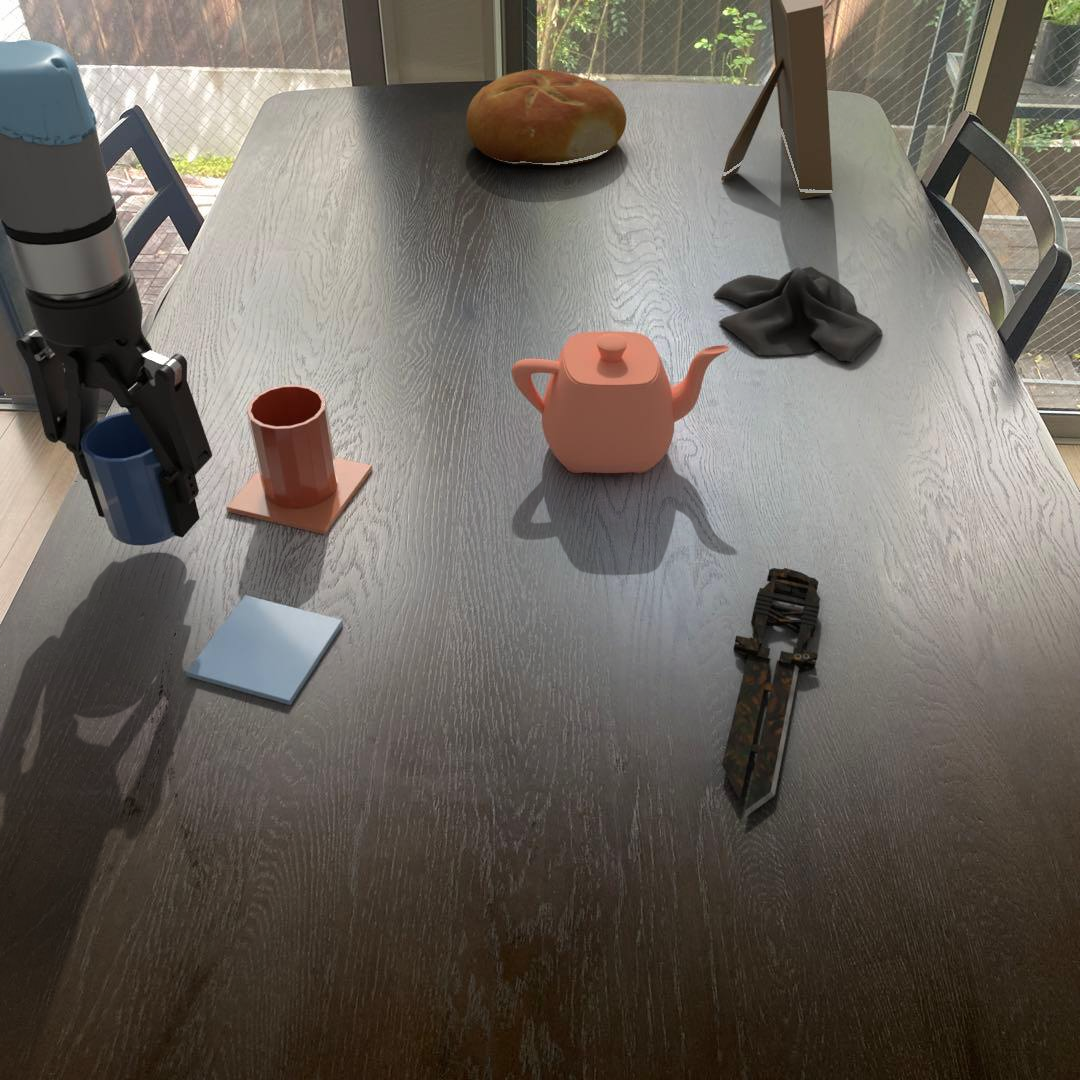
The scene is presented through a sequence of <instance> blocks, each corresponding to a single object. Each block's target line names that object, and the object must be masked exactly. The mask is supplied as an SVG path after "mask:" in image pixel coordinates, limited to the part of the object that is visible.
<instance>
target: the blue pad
mask: <svg viewBox="0 0 1080 1080" xmlns="http://www.w3.org/2000/svg"><path fill="white" fill-rule="evenodd" d="M343 625H344V622H343V619H341V618H337V617H333V616H328V615H325V614H321V613H317V612H313V611H309V610H306V609H301V608H297V607H294V606H289V605H285V604H282V603H278V602H274V601H270V600H266V599H262V598H258V597H255V596H250V595H246V594H245V595H244V596H243V597H242V599H241V600H240V601H239V602H238V604H237V605H236V606H235V608H234V609H233V610H232V612H231V613H230V614H229V615H228V616H227V618H226V620H225V621H224V622H223V623H222V625H221V626H220V627H219V628H218V629H217V631H216V632H215V634H214V635H213V636H212V638H211V639H210V641H209V642H208V643H207V644H206V645H205V647H204V648H203V649H202V651H201V652H200V653H199V655H198V656H197V657H196V659H195V660H194V661H193V663H192V664H191V665H190V666H189V668H188V669H187V670H186V675H187V677H188V678H192V679H195V680H199V681H202V682H205V683H209V684H214V685H217V686H220V687H223V688H227V689H231V690H235V691H238V692H241V693H245V694H249V695H252V696H255V697H259V698H262V699H267V700H270V701H273V702H277V703H281V704H285V705H287V706H291V705H292V704H293V702H294V701H295V699H296V697H297V696H298V694H299V693H300V691H301V690H302V689H303V687H304V686H305V684H306V682H307V681H308V679H309V678H310V676H311V675H312V673H313V672H314V670H315V668H316V667H317V666H318V664H319V662H320V661H321V659H323V655H325V653H326V652H327V650H328V648H329V647H330V646H331V644H332V642H333V641H334V640H335V638H336V636H337V635H338V633H339V632H340V630H341V628H342V627H343Z"/></svg>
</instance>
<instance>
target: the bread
mask: <svg viewBox="0 0 1080 1080" xmlns="http://www.w3.org/2000/svg"><path fill="white" fill-rule="evenodd" d="M465 119H466V120H465V122H466V129H467V134H468V137H469V139H470V141H471V143H472V144H473V145H474V147H475V148H476V149H477V150H478V151H479V150H480V151H481V152H480V151H479V152H480V153H481V154H483V153H484V154H483V155H484V156H486V157H488V158H490V159H492V160H494V161H497V162H500V163H503V164H507V165H516V166H526V165H527V166H528V165H532V166H543V167H544V166H545V167H562V166H563V167H564V166H572V165H577V164H583V163H586V162H591V161H593V160H596V159H597V158H600V157H601V156H603V155H601V156H598V157H596V158H592V159H588V160H583V161H578V162H573V163H568V164H560V165H543V164H532V163H556V162H564V161H569V160H574V159H579V158H584V157H587V156H590V155H594V154H597V153H600V152H603V151H606V150H609V149H611V148H612V147H613V146H614V147H615V146H616V145H617V144H618V142H619V141H620V140H621V138H622V136H623V135H624V133H625V130H626V128H627V127H626V126H627V113H626V109H625V107H624V105H623V103H622V102H621V100H620V99H619V97H618V96H617V95H616V94H615V92H613V91H612V90H611V89H610V88H608V86H605V85H604V84H601V83H598V82H596V81H594V80H592V79H587V78H584V77H581V76H578V75H575V74H571V73H566V72H563V71H557V70H550V69H526V70H520V71H515V72H512V73H508V74H505V75H503V76H500V77H498V78H496V79H495V80H493V81H492V82H490V83H488V84H487V85H485V86H482V88H481V89H480V90H479V91H478V92H477V93H476V94H475V95H474V96H473V98H472V99H471V101H470V104H469V105H468V109H467V111H466V118H465ZM614 147H613V148H614ZM613 148H612V149H613ZM612 149H611V150H612ZM609 151H610V150H609ZM485 154H486V155H485ZM487 155H488V156H487ZM489 156H490V157H489ZM491 157H493V158H496V159H499V160H503V161H508V162H520V161H526V162H532V163H518V164H512V163H507V162H502V161H499V160H496V159H493V158H491Z"/></svg>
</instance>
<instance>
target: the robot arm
mask: <svg viewBox="0 0 1080 1080" xmlns="http://www.w3.org/2000/svg"><path fill="white" fill-rule="evenodd" d="M97 124H98V123H97V118H96V114H95V111H94V109H93V107H92V106H91V105H90V102H89V99H88V96H87V93H86V90H85V86H84V83H83V80H82V77H81V73H80V69H79V67H78V64H77V63H76V61H75V60H74V58H73V57H72V56H71V54H70V53H69V52H68V51H67V50H65V49H63V48H61V46H58V45H55V44H52V43H49V42H46V41H41V40H33V39H20V40H16V41H6V40H5V41H0V222H1V223H2V227H3V229H4V232H5V235H6V239H7V241H8V245H9V248H10V251H11V254H12V257H13V261H14V264H15V267H16V270H17V273H18V277H19V279H20V283H21V284H23V286H25V291H24V292H25V296H26V299H27V303H28V305H29V308H30V311H31V315H32V317H33V320H34V323H35V326H34V327H33V328H32V329H31V330H29V331H27V332H26V333H25V334H24V335H23V336H21V337H20V338H19V339H17V340H16V341H15V344H16V345H15V346H16V347H17V349H18V351H19V353H20V355H21V356H22V358H23V360H24V361H25V363H26V366H27V368H28V373H29V377H30V381H31V384H32V388H33V392H34V396H35V400H36V404H37V408H38V412H39V417H40V420H41V424H42V428H43V429H42V430H43V433H44V436H45V438H46V439H47V440H48V441H49V442H51V443H54V444H56V443H58V442H61V443H63V444H65V447H66V449H67V450H68V451H69V452H70V453H72V454H73V457H74V460H75V463H76V465H77V469H78V473H79V474H80V476H81V477H82V478H83V480H86V482H87V485H88V487H89V491H90V494H91V497H92V500H93V503H94V505H95V509H96V511H97V515H98V517H100V518H104V519H105V516H104V513H103V510H102V507H101V504H100V501H99V498H98V495H97V492H96V489H95V486H94V483H93V480H92V477H91V474H90V471H89V468H88V465H87V462H86V459H85V456H84V453H83V450H82V446H81V443H80V442H81V439H82V437H83V434H84V432H85V431H86V430H87V429H88V428H89V427H91V426H92V425H93V424H94V423H95V422H97V421H99V420H98V419H99V406H100V405H99V404H100V392H101V389H102V390H104V391H106V392H107V393H110V394H111V395H112V397H113V398H114V400H115V401H116V403H117V405H118V406H119V407H120V408H123V409H124V408H126V410H127V412H129V413H130V414H131V416H132V418H133V419H134V421H135V422H136V424H137V426H138V427H139V429H140V431H141V432H142V434H143V435H144V437H145V439H146V440H147V442H148V444H149V445H150V447H151V448H152V450H153V452H154V453H155V455H156V457H157V458H158V460H159V461H160V463H161V465H162V466H163V468H164V470H163V471H162V472H161V473H160V474H159V475H158V477H159V481H160V484H161V488H162V491H163V495H164V499H165V502H166V506H167V509H168V513H169V516H170V520H171V524H172V527H173V531H174V534H175V536H174V537H178V538H182V539H183V538H184V537H185V536H186V534H188V532H189V531H190V530H191V529H192V528H193V526H194V525H195V524H196V523H197V522H198V521H199V520H200V518H201V517H200V513H199V509H198V505H197V502H196V497H197V496H199V492H200V490H199V486H198V482H197V478H196V477H197V476H196V475H197V474H198V473H199V472H200V470H201V469H202V468H203V467H204V466H205V465H206V464H207V463H208V462H209V461H210V460H211V459H212V458H213V453H212V450H211V446H210V443H209V440H208V438H207V435H206V432H205V429H204V426H203V423H202V420H201V417H200V414H199V412H198V409H197V406H196V405H197V404H196V402H195V400H194V397H193V393H192V390H191V388H190V385H189V382H188V361H187V359H186V357H185V356H184V355H182V354H180V353H174V354H173V355H172V356H171V357H167V356H164V355H163V354H159V353H157V352H155V351H153V348H152V346H151V344H150V343H149V341H148V340H147V338H146V337H145V335H144V334H143V331H142V325H143V324H142V322H143V315H144V314H143V305H142V302H141V297H140V294H139V290H138V286H137V281H136V279H135V278H136V277H135V274H134V272H133V270H132V269H131V268H130V263H131V260H130V257H129V253H128V249H127V246H126V242H125V237H124V234H123V229H122V226H121V223H120V218H119V215H118V210H117V207H116V204H115V199H114V198H113V195H112V190H111V187H110V183H109V179H108V174H107V169H106V165H105V161H104V156H103V153H102V147H101V144H100V140H99V135H98V130H97Z"/></svg>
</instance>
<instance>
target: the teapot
mask: <svg viewBox="0 0 1080 1080" xmlns="http://www.w3.org/2000/svg"><path fill="white" fill-rule="evenodd" d="M729 350H730V346H728V345H721V344H720V345H713V346H708V347H706V348H704V349H702V350H700V351H698V353H696V354H695V356H694V357H693V358H692V360H691V362H690V363H689V367H688V370H687V373H686V375H685V377H684V378H683V380H681V381H680V382H679V383H677V384H675V385H672V386H671V382H670V380H669V376H668V373H667V371H666V369H665V366H664V363H663V361H662V359H661V356H660V354H659V352H658V349H657V348H656V346H655V344H654V342H653V341H652V340H651V339H650V338H649V337H648V336H646V335H645V334H643V333H640V332H633V331H621V330H620V331H619V330H618V331H617V330H615V331H614V330H613V331H611V330H610V331H609V330H607V331H605V330H602V331H600V330H599V331H584V332H577V333H575V334H573V335H572V336H570V337H569V338H568V339H567V341H566V342H565V344H564V345H563V347H562V349H561V351H560V353H559V355H558V357H557V360H554V359H553V360H552V359H543V358H524V359H520V360H518V361H516V362H514V364H513V365H512V367H511V377H512V379H513V382H514V384H515V386H516V387H517V389H518V390H519V392H520V394H521V395H523V397H524V398H525V399H526V400H527V401H528V402H529V403H530V404H531V405H532V406H533V407H534V408H535V409H536V410H537V411H538V412H539V413H540V414H541V427H542V431H543V434H544V435H543V436H544V438H545V440H546V443H547V445H548V446H549V448H550V450H551V451H552V454H554V456H555V458H556V459H557V461H558V462H559V463H561V465H563V466H564V467H565V468H566V470H568V471H569V472H571V473H574V474H582V473H595V474H622V473H623V474H624V473H625V474H626V473H636V474H643V473H646V472H648V471H649V470H650V469H652V468H653V467H655V466H656V465H657V464H658V463H659V462H660V461H661V460H662V459H663V458H664V457H665V455H666V454H667V453H668V450H669V448H670V447H671V443H672V440H673V438H674V433H675V424H676V422H678V421H680V420H681V419H683V418H686V416H687V415H688V414H690V413H691V411H692V410H693V409H694V408H695V406H696V404H697V401H698V400H699V397H700V394H701V390H702V386H703V381H704V377H705V374H706V373H707V370H708V368H709V365H710V364H711V363H712V362H713V361H714V360H715V359H716V358H718V357H719V356H721V355H723V354H724V353H726V352H727V351H729ZM533 374H550V375H549V378H548V381H547V384H546V387H545V391H544V395H543V397H542V396H541V395H540V393H539V392H538V390H537V388H536V386H535V384H534V382H533V379H532V375H533Z"/></svg>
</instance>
